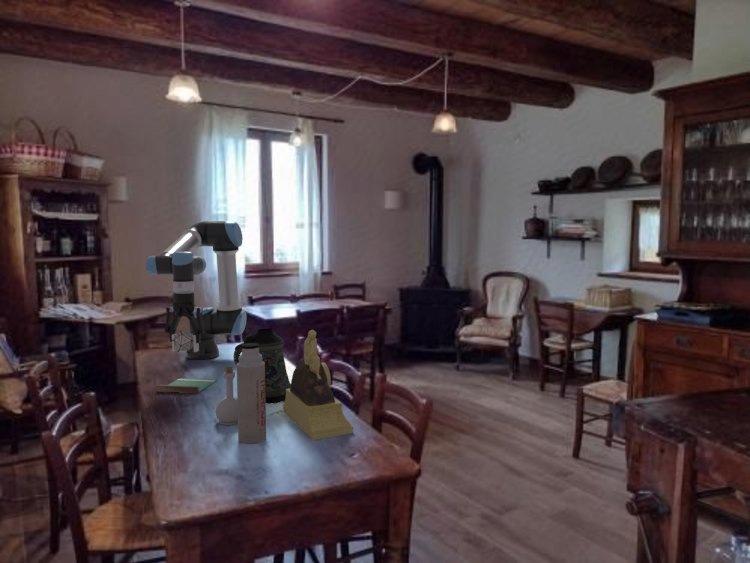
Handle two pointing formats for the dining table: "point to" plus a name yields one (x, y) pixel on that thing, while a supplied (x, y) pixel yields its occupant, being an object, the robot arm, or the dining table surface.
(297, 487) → the dining table surface
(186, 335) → the game die
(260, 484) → the dining table surface
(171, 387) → the walnut backstop rail
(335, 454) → the dining table surface
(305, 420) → the seated figure statue
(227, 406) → the potion bottle
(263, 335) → the beer stein
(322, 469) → the dining table surface
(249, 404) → the thermos bottle
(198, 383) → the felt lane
